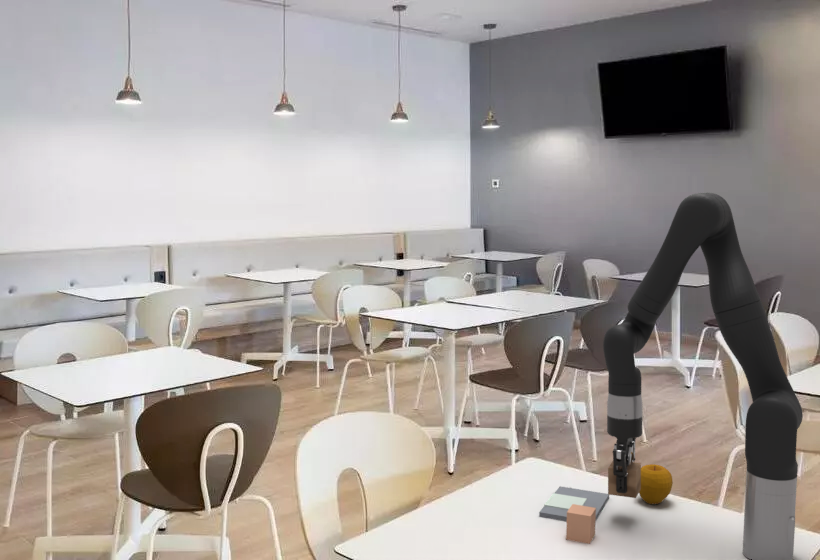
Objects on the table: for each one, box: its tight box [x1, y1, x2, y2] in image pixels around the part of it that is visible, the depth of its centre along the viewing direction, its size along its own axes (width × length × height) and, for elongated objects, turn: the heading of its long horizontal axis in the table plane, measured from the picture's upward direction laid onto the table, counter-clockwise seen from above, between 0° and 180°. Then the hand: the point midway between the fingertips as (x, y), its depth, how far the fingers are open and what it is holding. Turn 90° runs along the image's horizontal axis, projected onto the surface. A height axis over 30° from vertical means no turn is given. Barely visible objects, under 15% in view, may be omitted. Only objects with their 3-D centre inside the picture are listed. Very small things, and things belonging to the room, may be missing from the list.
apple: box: [638, 463, 674, 505], centre depth 191 cm, size 8×8×9 cm
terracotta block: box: [565, 504, 597, 545], centre depth 171 cm, size 5×5×6 cm
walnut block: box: [607, 461, 642, 499], centre depth 179 cm, size 6×6×6 cm
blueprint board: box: [538, 485, 610, 522], centre depth 188 cm, size 12×18×1 cm, turn 155°
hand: (624, 487), depth 179 cm, fingers closed on walnut block, 6 cm apart
